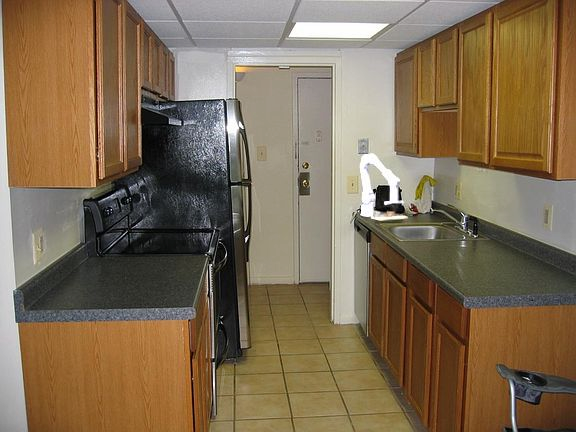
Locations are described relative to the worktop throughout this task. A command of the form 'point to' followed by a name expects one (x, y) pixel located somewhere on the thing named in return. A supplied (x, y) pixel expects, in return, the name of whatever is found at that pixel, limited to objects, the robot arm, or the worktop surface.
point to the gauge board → (384, 217)
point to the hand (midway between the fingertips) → (393, 214)
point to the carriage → (390, 213)
